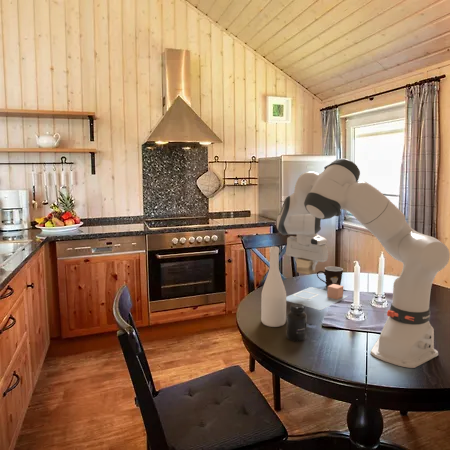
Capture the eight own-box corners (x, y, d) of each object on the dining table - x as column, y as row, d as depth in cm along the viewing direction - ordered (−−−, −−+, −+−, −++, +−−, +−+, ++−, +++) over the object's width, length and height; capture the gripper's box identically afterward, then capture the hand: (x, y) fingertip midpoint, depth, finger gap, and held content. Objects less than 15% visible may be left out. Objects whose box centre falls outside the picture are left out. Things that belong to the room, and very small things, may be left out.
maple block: (307, 274, 177) (308, 261, 176) (296, 272, 181) (296, 259, 180) (315, 271, 181) (315, 258, 180) (303, 269, 185) (304, 256, 184)
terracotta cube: (337, 299, 177) (337, 288, 176) (327, 296, 180) (327, 286, 179) (342, 296, 180) (343, 286, 179) (332, 294, 184) (333, 283, 183)
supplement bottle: (301, 343, 137) (302, 310, 135) (283, 339, 141) (284, 306, 139) (308, 336, 143) (309, 304, 141) (291, 332, 146) (291, 300, 145)
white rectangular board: (320, 313, 164) (320, 310, 164) (281, 301, 178) (281, 298, 178) (348, 298, 181) (348, 295, 181) (310, 289, 195) (310, 286, 195)
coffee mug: (344, 287, 197) (345, 267, 195) (339, 292, 190) (339, 272, 188) (321, 283, 203) (322, 264, 202) (315, 288, 196) (316, 268, 194)
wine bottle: (290, 322, 155) (292, 246, 150) (276, 330, 148) (277, 251, 144) (270, 316, 162) (271, 243, 157) (256, 323, 155) (256, 247, 150)
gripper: (283, 236, 184) (282, 265, 186) (322, 242, 169) (321, 273, 172) (291, 234, 188) (290, 262, 190) (330, 240, 174) (329, 270, 176)
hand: (305, 268), depth 181 cm, fingers closed on maple block, 6 cm apart
